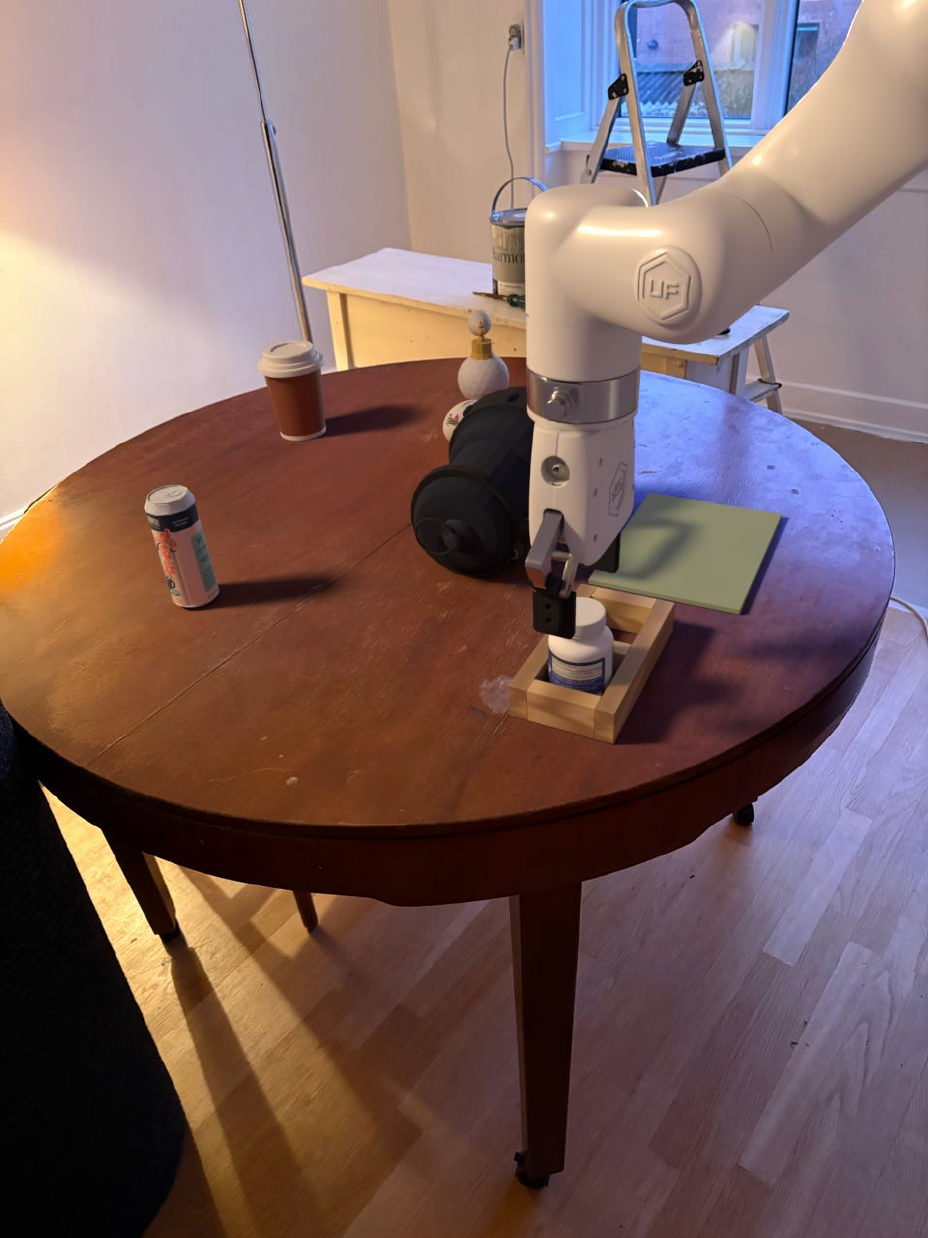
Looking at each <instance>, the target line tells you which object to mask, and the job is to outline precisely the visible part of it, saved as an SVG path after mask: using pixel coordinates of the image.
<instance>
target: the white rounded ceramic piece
mask: <svg viewBox="0 0 928 1238" xmlns="http://www.w3.org/2000/svg"><path fill="white" fill-rule="evenodd" d="M476 401H477V400H468V399H467V400H464V401H461V402H459V403H458V404H456V405H454V406H453V407H452V408H451V409H450V410H449V411H448V412H447V414H446V415H445V417H444V420H443V423H442V432H443V436H444V437H445V439H446V440H447V441H448V442H450V439H451V436H452V433H453V430H454V429H455V428H456V426H457V425H458V424H459V422H460V421H461V420H462V418H463V417H464V416H463V411H464V410H465V408H466V407H467V406H468V405H473V403H475V402H476Z"/></svg>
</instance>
